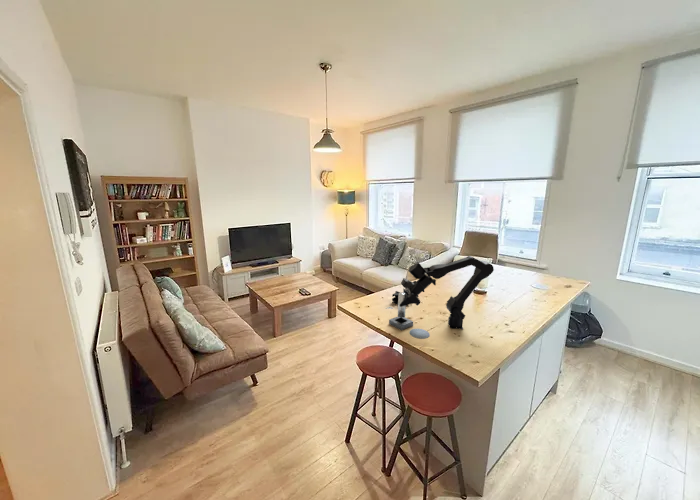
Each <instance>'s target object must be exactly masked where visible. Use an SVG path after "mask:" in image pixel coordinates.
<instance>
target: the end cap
mask: <svg viewBox="0 0 700 500" xmlns="http://www.w3.org/2000/svg"><path fill="white" fill-rule="evenodd" d="M400 292H401V291H398V290H396V291H395V292H394V293H392V294H391V295H392V297H393V298H391V300H392V304H394V303H395V305H397V306H398V295H399V293H400Z"/></svg>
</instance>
